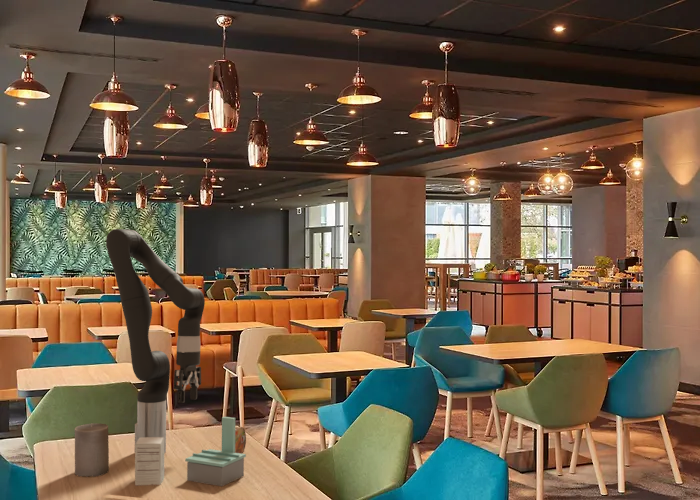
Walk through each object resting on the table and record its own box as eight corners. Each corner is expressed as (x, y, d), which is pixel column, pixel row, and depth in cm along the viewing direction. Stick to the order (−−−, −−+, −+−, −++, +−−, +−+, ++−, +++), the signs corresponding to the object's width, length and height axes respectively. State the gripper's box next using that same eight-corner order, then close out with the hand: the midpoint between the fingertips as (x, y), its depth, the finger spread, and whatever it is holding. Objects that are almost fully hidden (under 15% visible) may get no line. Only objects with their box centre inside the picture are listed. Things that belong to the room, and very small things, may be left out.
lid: (185, 461, 220) (185, 423, 220) (211, 450, 232) (212, 415, 232) (222, 467, 214) (222, 428, 215) (247, 456, 226) (247, 419, 226)
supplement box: (138, 480, 222) (139, 436, 222) (164, 479, 223) (165, 436, 223) (133, 488, 215) (134, 443, 215) (160, 487, 216) (161, 443, 216)
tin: (231, 461, 243) (231, 435, 243) (221, 461, 244) (221, 434, 244) (246, 449, 258) (247, 424, 258) (237, 449, 258) (238, 424, 258)
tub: (187, 483, 220) (187, 462, 220) (209, 473, 230) (210, 453, 230) (221, 488, 215) (222, 467, 215) (243, 478, 225) (243, 458, 225)
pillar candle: (99, 465, 237) (99, 417, 237) (114, 472, 230) (114, 422, 230) (68, 472, 230) (68, 422, 230) (83, 479, 223) (83, 428, 223)
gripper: (188, 348, 254) (187, 398, 253) (167, 351, 241) (165, 403, 240) (209, 349, 252) (207, 398, 251) (188, 351, 239) (187, 404, 238)
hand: (187, 401), depth 246 cm, fingers open, 8 cm apart
